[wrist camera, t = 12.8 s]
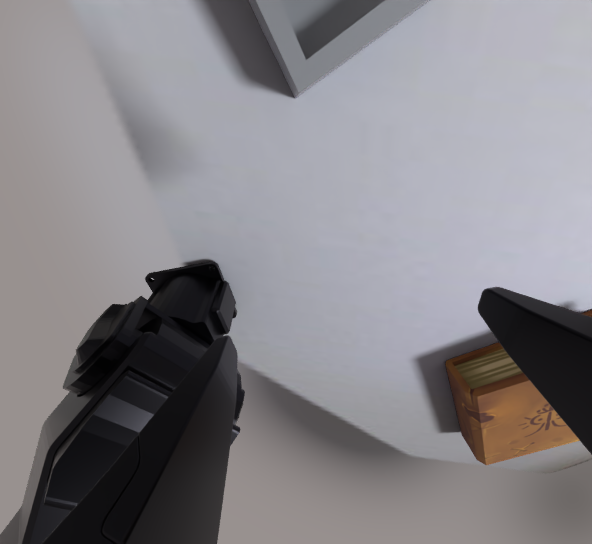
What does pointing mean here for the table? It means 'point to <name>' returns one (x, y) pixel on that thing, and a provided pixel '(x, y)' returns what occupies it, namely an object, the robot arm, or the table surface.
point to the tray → (324, 32)
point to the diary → (502, 407)
